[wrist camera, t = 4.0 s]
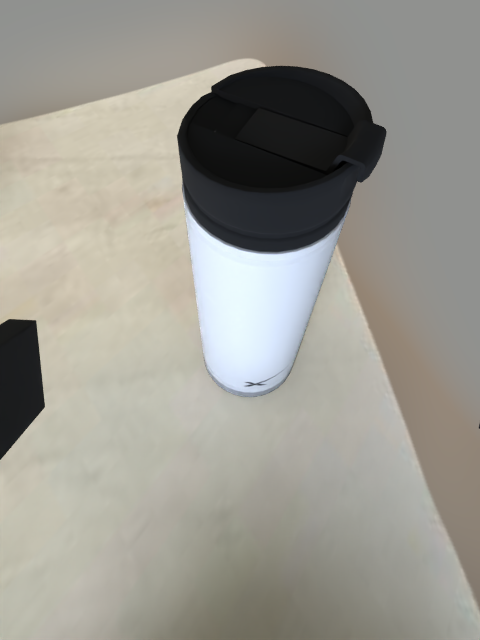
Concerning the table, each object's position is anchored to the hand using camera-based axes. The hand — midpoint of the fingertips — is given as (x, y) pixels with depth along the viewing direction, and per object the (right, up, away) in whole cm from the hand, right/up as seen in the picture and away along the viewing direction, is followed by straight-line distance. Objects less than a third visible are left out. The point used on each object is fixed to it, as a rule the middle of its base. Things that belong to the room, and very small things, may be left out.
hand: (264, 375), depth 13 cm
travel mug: (0, -1, +19) cm, 19 cm away
